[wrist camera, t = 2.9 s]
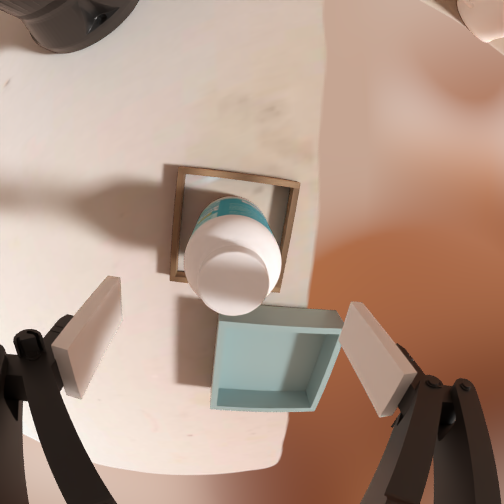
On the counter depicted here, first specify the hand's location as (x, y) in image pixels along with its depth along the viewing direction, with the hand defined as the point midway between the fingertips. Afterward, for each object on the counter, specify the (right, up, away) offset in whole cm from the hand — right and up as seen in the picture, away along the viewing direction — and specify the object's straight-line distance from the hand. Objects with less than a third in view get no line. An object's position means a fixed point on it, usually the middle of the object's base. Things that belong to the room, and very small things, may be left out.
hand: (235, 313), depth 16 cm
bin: (+3, -10, +21) cm, 24 cm away
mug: (+34, +40, +7) cm, 53 cm away
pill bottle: (-1, +6, +16) cm, 17 cm away
